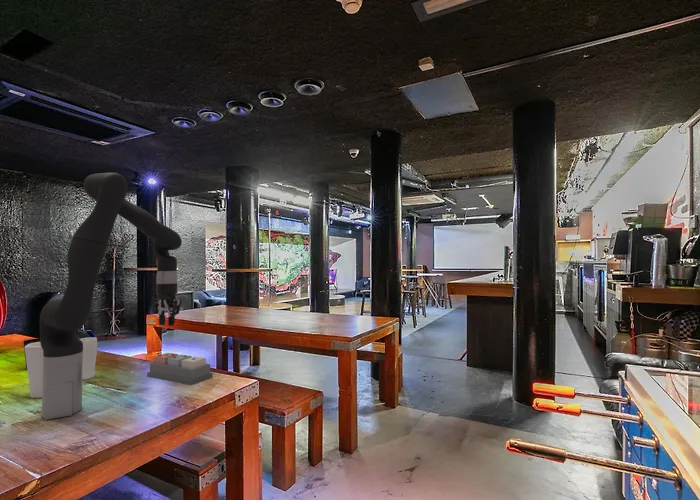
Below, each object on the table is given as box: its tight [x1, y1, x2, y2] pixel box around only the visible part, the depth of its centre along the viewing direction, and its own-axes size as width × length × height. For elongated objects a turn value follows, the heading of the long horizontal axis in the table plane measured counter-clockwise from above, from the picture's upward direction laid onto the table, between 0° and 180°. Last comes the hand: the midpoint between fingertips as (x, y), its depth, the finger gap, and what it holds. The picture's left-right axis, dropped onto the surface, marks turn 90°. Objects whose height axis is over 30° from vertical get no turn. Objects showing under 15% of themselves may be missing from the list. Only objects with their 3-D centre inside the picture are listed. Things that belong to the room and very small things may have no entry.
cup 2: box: [24, 342, 43, 399], centre depth 120 cm, size 11×10×17 cm
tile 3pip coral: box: [153, 352, 179, 365], centre depth 141 cm, size 6×6×4 cm
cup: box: [23, 337, 40, 371], centre depth 151 cm, size 8×8×12 cm
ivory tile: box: [181, 356, 207, 369], centre depth 134 cm, size 6×6×4 cm
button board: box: [146, 361, 213, 386], centre depth 138 cm, size 24×10×5 cm, turn 65°
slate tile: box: [168, 354, 193, 367], centre depth 138 cm, size 6×6×4 cm
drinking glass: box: [79, 336, 98, 381], centre depth 137 cm, size 7×7×15 cm
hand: (166, 325), depth 141 cm, fingers open, 4 cm apart
